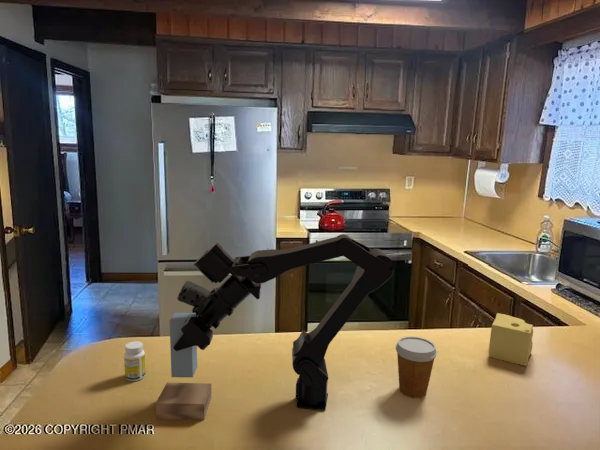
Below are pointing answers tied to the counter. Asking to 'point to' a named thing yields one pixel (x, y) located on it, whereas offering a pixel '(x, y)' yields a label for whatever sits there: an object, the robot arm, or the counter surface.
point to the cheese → (510, 339)
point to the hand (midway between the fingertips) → (177, 344)
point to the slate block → (185, 358)
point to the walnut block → (184, 401)
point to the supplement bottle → (134, 361)
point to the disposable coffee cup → (415, 365)
